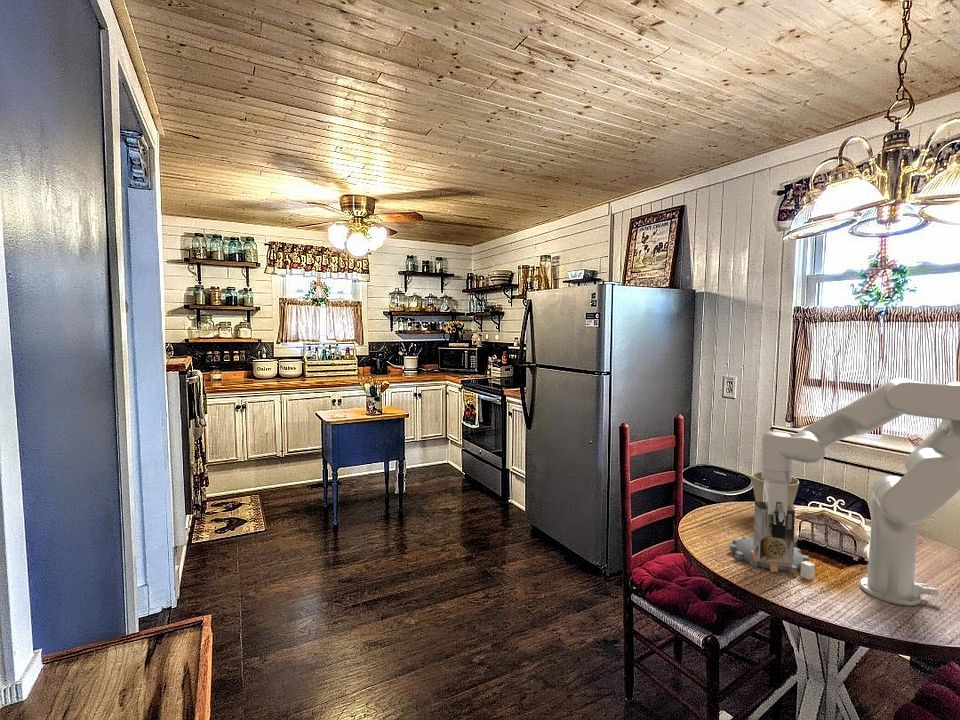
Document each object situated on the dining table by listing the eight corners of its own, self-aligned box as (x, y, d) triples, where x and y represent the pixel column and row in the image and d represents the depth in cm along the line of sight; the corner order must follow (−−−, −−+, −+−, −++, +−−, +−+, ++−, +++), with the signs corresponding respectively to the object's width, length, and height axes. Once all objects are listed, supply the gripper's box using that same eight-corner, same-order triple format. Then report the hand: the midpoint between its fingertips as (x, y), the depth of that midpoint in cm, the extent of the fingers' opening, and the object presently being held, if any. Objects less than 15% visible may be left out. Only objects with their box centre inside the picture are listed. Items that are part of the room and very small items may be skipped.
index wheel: (798, 545, 158) (799, 528, 157) (816, 578, 137) (818, 559, 136) (726, 534, 165) (727, 518, 165) (733, 564, 145) (734, 546, 144)
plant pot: (747, 521, 178) (749, 479, 177) (752, 509, 191) (754, 469, 189) (796, 531, 170) (798, 487, 169) (797, 518, 182) (800, 476, 181)
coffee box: (785, 554, 147) (787, 502, 146) (793, 565, 141) (796, 510, 140) (751, 551, 149) (754, 500, 148) (758, 561, 143) (761, 507, 142)
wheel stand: (802, 557, 151) (803, 544, 151) (815, 581, 137) (816, 567, 137) (747, 548, 157) (748, 536, 157) (754, 570, 143) (755, 557, 143)
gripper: (757, 465, 153) (756, 518, 154) (766, 481, 137) (765, 541, 138) (785, 467, 150) (783, 522, 151) (798, 484, 134) (796, 545, 135)
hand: (775, 531), depth 144 cm, fingers open, 9 cm apart
